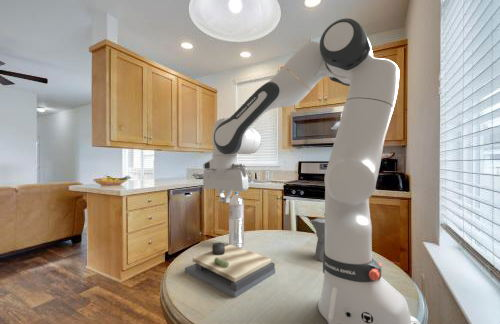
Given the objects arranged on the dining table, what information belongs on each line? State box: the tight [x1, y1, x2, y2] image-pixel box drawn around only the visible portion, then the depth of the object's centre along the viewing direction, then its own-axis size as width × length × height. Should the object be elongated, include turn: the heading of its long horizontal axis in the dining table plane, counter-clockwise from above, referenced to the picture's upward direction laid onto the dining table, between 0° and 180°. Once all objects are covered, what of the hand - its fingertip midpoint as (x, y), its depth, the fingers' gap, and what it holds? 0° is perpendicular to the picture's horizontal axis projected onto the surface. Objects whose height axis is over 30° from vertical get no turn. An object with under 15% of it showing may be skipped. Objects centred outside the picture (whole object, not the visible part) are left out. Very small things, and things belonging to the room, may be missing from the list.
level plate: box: [192, 242, 272, 282], centre depth 80 cm, size 20×18×4 cm
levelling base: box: [184, 261, 276, 298], centre depth 81 cm, size 24×20×4 cm
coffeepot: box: [309, 212, 325, 263], centre depth 94 cm, size 15×9×18 cm, turn 86°
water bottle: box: [228, 191, 245, 249], centre depth 107 cm, size 7×7×25 cm
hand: (224, 202), depth 85 cm, fingers closed
